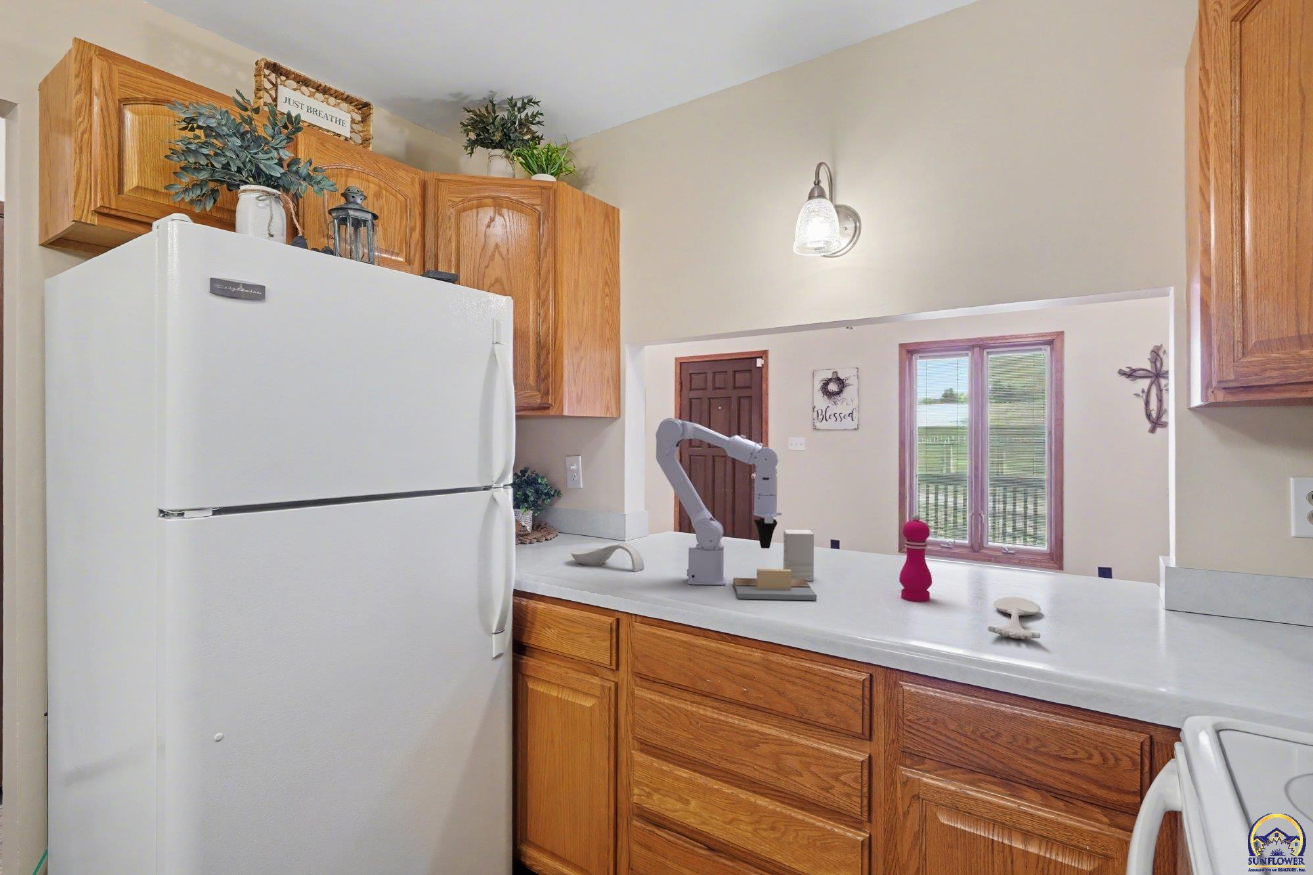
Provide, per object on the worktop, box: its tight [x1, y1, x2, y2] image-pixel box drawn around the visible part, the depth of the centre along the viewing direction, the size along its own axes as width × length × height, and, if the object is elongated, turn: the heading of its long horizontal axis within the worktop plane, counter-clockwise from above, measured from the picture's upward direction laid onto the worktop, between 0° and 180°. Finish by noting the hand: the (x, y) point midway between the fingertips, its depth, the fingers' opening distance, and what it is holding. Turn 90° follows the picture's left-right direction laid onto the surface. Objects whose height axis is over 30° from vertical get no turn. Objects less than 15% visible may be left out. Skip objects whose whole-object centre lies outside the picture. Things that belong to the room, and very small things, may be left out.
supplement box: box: [782, 529, 815, 582], centre depth 175 cm, size 7×7×13 cm
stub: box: [735, 568, 818, 601], centre depth 155 cm, size 18×7×6 cm, turn 87°
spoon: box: [987, 596, 1041, 640], centre depth 133 cm, size 9×32×4 cm, turn 150°
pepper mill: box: [898, 513, 933, 602], centre depth 154 cm, size 7×7×20 cm
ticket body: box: [732, 577, 811, 592], centre depth 163 cm, size 18×8×2 cm, turn 87°
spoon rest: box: [570, 542, 645, 573], centre depth 189 cm, size 24×12×7 cm, turn 56°
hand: (765, 547), depth 167 cm, fingers closed
